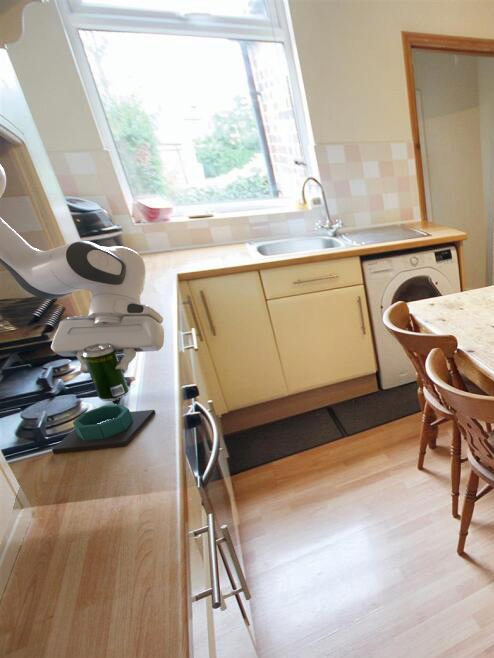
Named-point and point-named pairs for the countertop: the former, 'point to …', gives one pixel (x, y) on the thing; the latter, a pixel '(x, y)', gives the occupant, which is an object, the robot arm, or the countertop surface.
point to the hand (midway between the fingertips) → (104, 371)
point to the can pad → (107, 442)
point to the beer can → (105, 372)
